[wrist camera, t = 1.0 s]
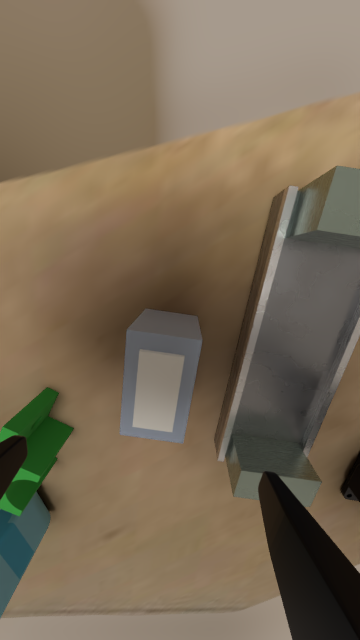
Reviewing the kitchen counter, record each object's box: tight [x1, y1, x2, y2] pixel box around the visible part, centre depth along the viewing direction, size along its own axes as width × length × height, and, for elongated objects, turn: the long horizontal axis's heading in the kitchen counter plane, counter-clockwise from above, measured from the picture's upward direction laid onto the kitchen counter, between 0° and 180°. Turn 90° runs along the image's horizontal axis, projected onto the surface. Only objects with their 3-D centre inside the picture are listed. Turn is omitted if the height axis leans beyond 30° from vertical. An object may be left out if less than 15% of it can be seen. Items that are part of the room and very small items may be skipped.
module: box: [120, 309, 203, 443], centre depth 14 cm, size 4×7×5 cm, turn 172°
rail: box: [214, 166, 360, 507], centre depth 13 cm, size 7×20×4 cm, turn 172°
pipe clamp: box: [0, 387, 74, 516], centre depth 17 cm, size 11×4×5 cm, turn 149°
